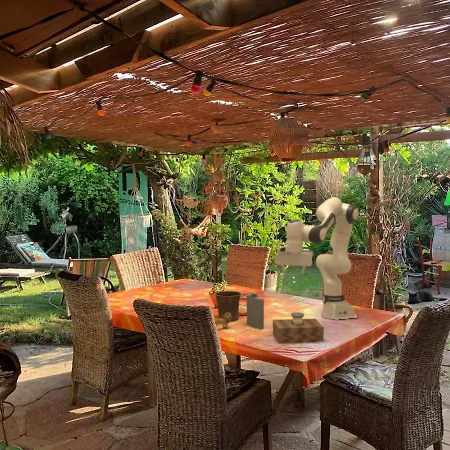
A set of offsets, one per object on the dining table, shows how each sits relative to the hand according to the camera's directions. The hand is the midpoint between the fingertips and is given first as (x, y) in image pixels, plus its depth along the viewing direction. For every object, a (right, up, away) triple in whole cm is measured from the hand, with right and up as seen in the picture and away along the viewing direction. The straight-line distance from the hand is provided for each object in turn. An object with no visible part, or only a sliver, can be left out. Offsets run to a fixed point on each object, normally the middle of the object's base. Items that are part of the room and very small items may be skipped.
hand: (293, 273), depth 258 cm
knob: (+1, -28, -8) cm, 29 cm away
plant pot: (-36, -32, +31) cm, 57 cm away
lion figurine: (-40, -33, +10) cm, 53 cm away
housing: (+1, -34, -7) cm, 35 cm away
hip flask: (-21, -33, +15) cm, 42 cm away
